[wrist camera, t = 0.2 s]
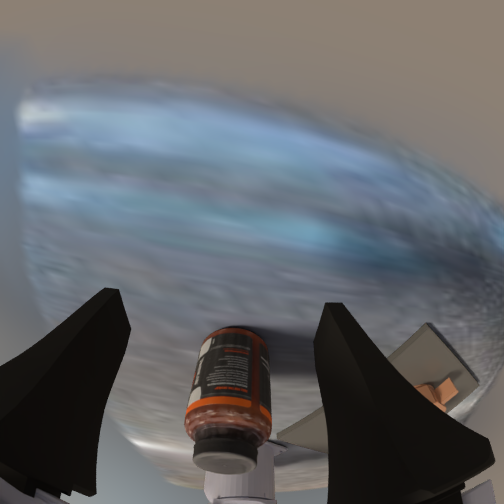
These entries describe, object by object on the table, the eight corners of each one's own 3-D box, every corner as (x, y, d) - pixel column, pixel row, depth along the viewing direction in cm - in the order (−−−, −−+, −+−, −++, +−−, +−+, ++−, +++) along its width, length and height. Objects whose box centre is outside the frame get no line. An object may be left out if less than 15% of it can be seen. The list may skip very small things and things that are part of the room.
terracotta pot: (391, 431, 29) (398, 449, 26) (357, 419, 27) (363, 441, 24) (456, 382, 26) (467, 399, 22) (434, 361, 23) (446, 382, 20)
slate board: (370, 458, 34) (371, 462, 33) (276, 433, 29) (276, 439, 28) (477, 382, 27) (479, 385, 27) (425, 322, 22) (429, 327, 22)
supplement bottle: (188, 336, 23) (155, 448, 13) (250, 314, 22) (246, 439, 11) (222, 378, 25) (208, 482, 15) (279, 361, 24) (287, 473, 13)
